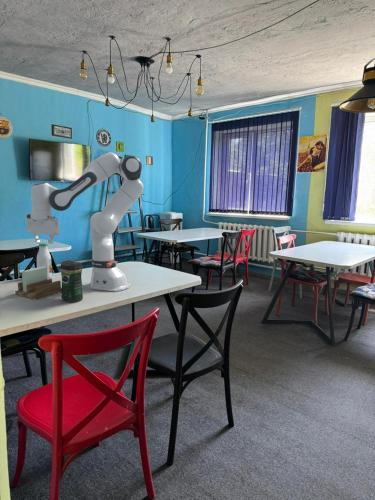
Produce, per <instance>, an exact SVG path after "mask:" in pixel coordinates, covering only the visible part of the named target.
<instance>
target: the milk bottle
mask: <svg viewBox="0 0 375 500" xmlns="http://www.w3.org/2000/svg"><path fill="white" fill-rule="evenodd" d="M48 244H49V243H47V242H38V247H39V249H38V251H37V255H36V268H39V267H47V279H51V277H52V276H53V275H52V274H53V272H52V271H53V270H52V257H51V254H50V252H49V249H48V246H49V245H48Z"/></svg>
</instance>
